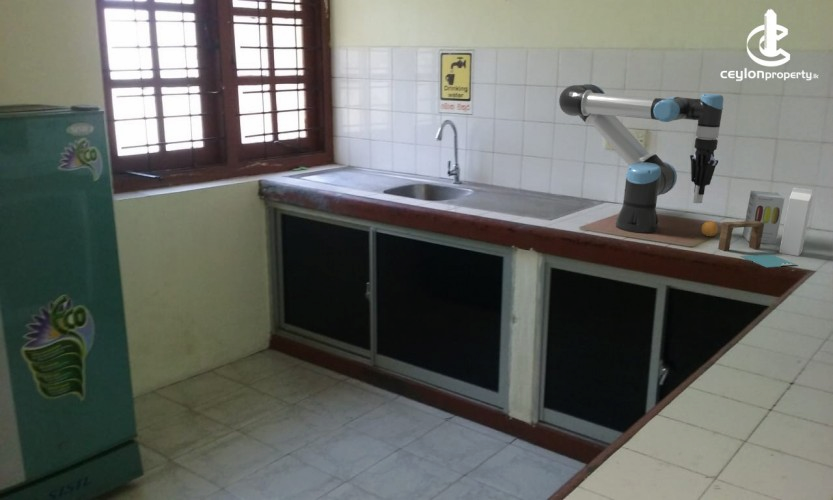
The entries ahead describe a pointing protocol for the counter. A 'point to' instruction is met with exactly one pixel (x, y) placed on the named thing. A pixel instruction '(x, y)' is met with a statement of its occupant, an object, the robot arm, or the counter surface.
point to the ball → (709, 228)
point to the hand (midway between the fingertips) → (697, 202)
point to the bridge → (728, 227)
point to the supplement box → (764, 214)
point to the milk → (796, 221)
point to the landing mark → (767, 260)
